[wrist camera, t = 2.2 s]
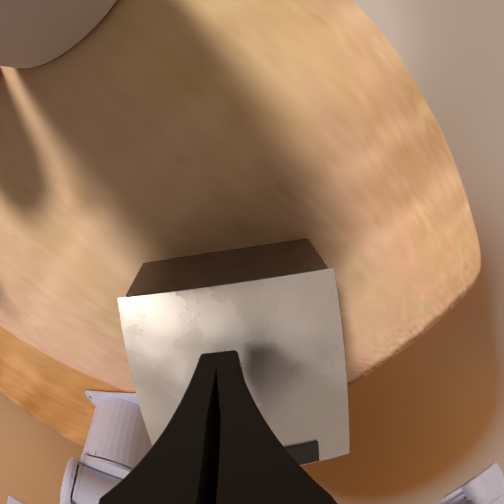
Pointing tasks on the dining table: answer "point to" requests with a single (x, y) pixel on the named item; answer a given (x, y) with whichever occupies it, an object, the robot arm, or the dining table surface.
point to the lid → (249, 354)
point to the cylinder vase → (45, 28)
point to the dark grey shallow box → (226, 267)
